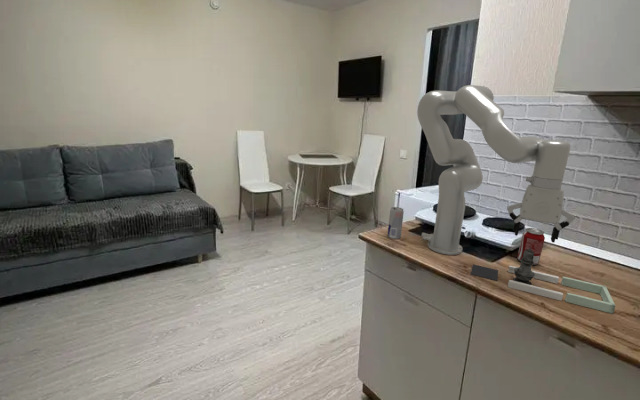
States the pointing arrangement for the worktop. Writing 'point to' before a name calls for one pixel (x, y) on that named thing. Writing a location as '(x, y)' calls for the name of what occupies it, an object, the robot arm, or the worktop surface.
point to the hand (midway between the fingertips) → (533, 237)
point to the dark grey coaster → (484, 272)
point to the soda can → (532, 243)
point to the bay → (604, 305)
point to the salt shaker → (525, 268)
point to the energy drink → (395, 222)
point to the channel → (536, 289)
